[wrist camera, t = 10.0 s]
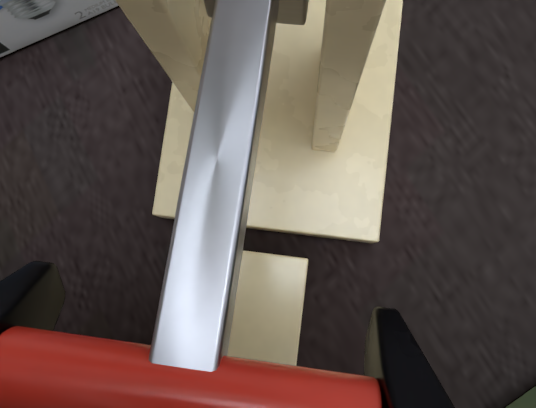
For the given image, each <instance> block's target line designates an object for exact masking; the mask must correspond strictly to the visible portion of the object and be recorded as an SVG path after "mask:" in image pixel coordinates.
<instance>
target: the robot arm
mask: <svg viewBox="0 0 536 408" xmlns="http://www.w3.org/2000/svg"><path fill="white" fill-rule="evenodd" d="M64 300H65V290H64V287H63V284H62V281H61V278H60V274H59V271H58V268H57V266H56V265H55V264H53V263H49V262H41V261H33V262H30V263H28V264H27V265H25V266H24V267H22V268H21V269H19V270H17V271H16V272H14V273H13V274H11V275H10V276H8V277H6V278H5V279H3V280H2V281H0V334H1V333H2V332H4V331H5V330H7V329H8V328H11V327H14V326H24V327H31V328H38V329H45V330H52V331H53V330H54V328H55V325H56V322H57V320H58V317H59V315H60V312H61V309H62V307H63V304H64ZM364 375H365V376H372V377H374V378H376V379H377V380H378V382H379V385H380V389H381V397H382V408H455V407H454V406H453V404H452V402H451V400H450V399H449V397H448V395H447V394H446V392H445V390H444V388H443V387H442V385H441V383H440V382H439V380H438V378H437V376H436V375H435V373H434V371H433V370H432V368H431V366H430V364H429V363H428V361H427V359H426V358H425V356H424V354H423V352H422V351H421V349H420V347H419V346H418V344H417V342H416V340H415V339H414V337H413V335H412V334H411V332H410V330H409V329H408V327H407V325H406V323H405V322H404V320H403V318H402V317H401V315H400V313H399V312H398V311H397V310H396V309H392V308H385V307H375V308H374V310H373V312H372V316H371V319H370V323H369V327H368V330H367V334H366V340H365V360H364Z"/></svg>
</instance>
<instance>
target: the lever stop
mask: <svg viewBox="0 0 536 408" xmlns="http://www.w3.org/2000/svg"><path fill="white" fill-rule="evenodd" d="M307 269H308V259H307V258H300V257H292V256H284V255H276V254H268V253H260V252H252V251H244V250H243V253H242V259H241V266H240V273H239V280H238V286H237V293H236V300H235V307H234V313H233V320H232V327H231V334H230V340H229V347H228V354H227V356H233V357H240V358H247V359H254V360H261V361H267V362H274V363H281V364H288V365H295V366H296V364H297V355H298V347H299V338H300V330H301V321H302V312H303V304H304V295H305V286H306V278H307Z"/></svg>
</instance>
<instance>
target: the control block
mask: <svg viewBox="0 0 536 408" xmlns="http://www.w3.org/2000/svg"><path fill="white" fill-rule="evenodd" d="M506 408H536V386H535V387H534V388H532V389H531V390H529V391H528V392H527V393H525V394H524V395H522V396H521V397H520V398H518V399H517V400H515V401H514V402H513V403H511V404H510V405H508V406H507V407H506Z"/></svg>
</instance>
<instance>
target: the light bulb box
mask: <svg viewBox="0 0 536 408" xmlns="http://www.w3.org/2000/svg"><path fill="white" fill-rule="evenodd" d="M117 6H119V5H118V4H117V2H116V1H115V0H0V57H3V56H5V55H7V54H9V53H12V52H14V51H16V50H18V49H21V48H23V47H25V46H28V45H30V44H32V43H35V42H37V41H39V40H42V39H44V38H46V37H49V36H51V35H53V34H55V33H58V32H60V31H62V30H64V29H67V28H69V27H71V26H73V25H76V24H78V23H80V22H83V21H85V20H87V19H90V18H92V17H94V16H97V15H99V14H101V13H103V12H106V11H108V10H110V9H112V8H115V7H117Z"/></svg>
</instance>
